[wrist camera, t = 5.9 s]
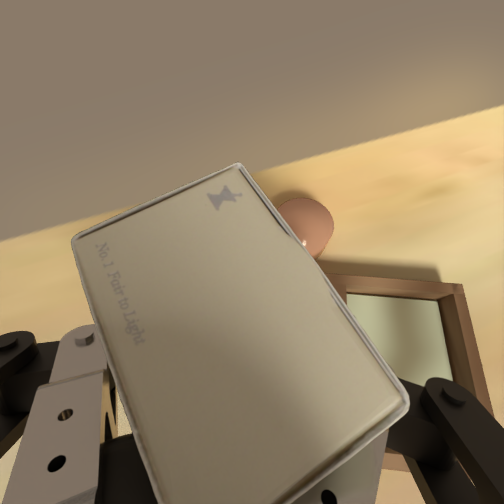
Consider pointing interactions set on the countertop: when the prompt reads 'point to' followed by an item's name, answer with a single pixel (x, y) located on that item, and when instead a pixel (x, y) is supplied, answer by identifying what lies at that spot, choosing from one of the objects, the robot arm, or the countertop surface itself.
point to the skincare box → (231, 346)
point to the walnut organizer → (417, 334)
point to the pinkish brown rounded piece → (308, 223)
